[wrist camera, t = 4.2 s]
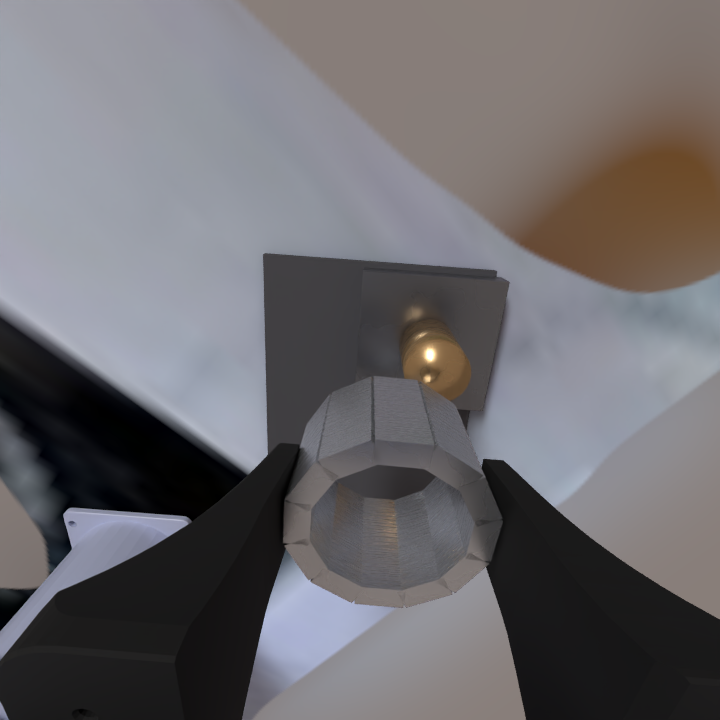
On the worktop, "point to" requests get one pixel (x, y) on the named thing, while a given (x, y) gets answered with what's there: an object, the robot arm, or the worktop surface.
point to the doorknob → (431, 330)
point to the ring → (383, 516)
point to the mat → (324, 352)
